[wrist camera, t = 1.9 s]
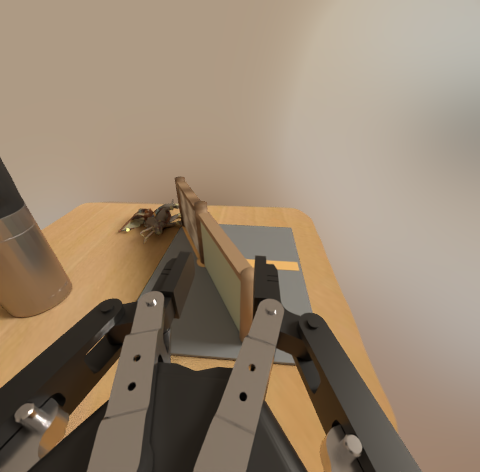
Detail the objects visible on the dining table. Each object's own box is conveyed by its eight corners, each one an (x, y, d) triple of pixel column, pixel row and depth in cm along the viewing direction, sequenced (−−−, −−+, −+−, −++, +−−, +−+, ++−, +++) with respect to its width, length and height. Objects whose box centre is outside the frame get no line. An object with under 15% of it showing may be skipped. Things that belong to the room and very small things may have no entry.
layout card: (107, 349, 31) (106, 347, 31) (182, 223, 62) (182, 221, 62) (324, 367, 30) (325, 365, 29) (290, 229, 61) (291, 227, 60)
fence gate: (202, 266, 46) (197, 211, 39) (213, 262, 47) (209, 209, 40) (243, 347, 31) (246, 283, 24) (258, 340, 32) (264, 277, 25)
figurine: (175, 222, 51) (102, 233, 49) (181, 243, 54) (113, 253, 53) (182, 191, 67) (127, 198, 66) (186, 208, 71) (134, 216, 69)
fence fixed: (212, 262, 47) (208, 204, 40) (202, 265, 46) (195, 207, 39) (189, 222, 62) (183, 174, 54) (181, 223, 61) (173, 175, 54)
